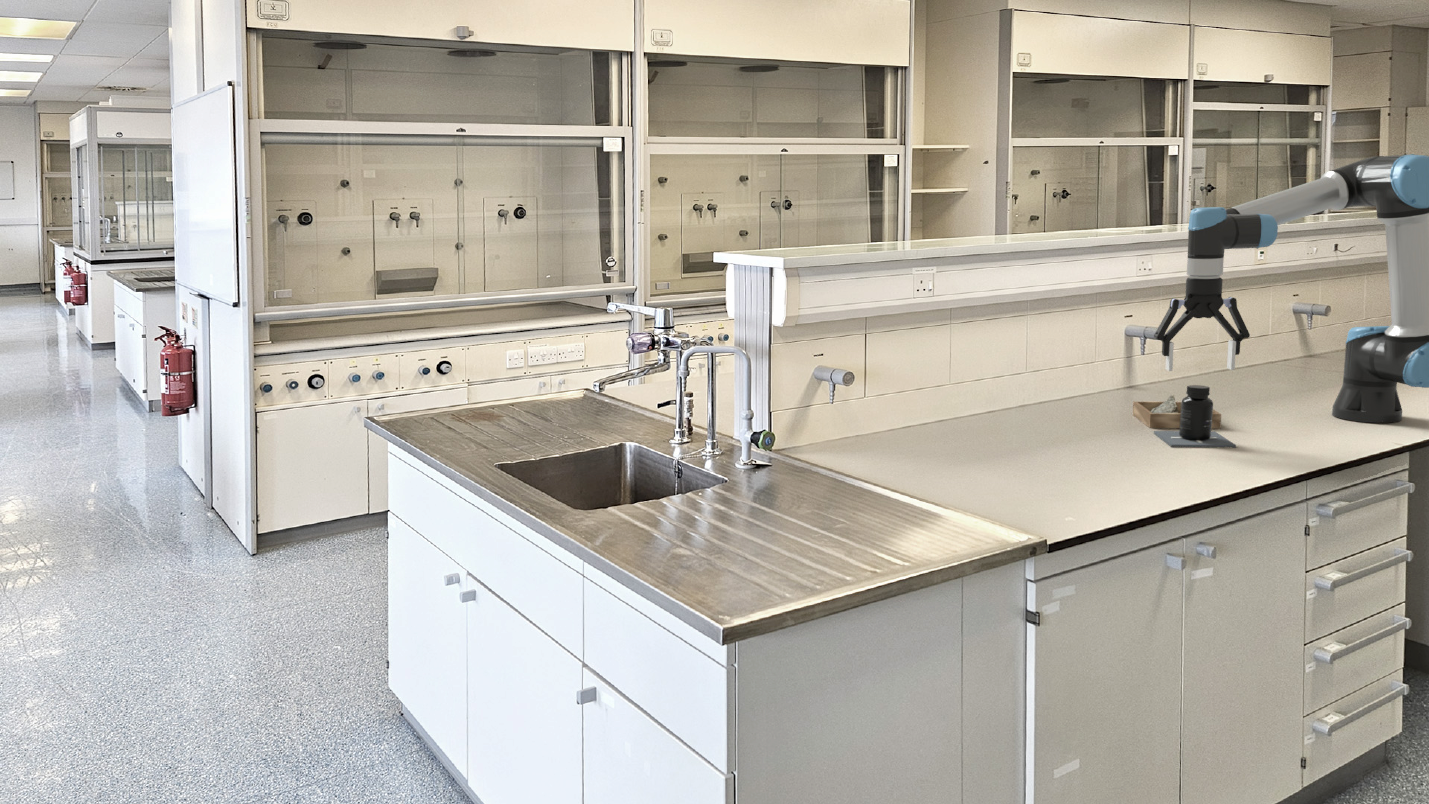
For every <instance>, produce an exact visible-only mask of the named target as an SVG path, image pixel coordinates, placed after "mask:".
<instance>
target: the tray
mask: <svg viewBox="0 0 1429 804" xmlns="http://www.w3.org/2000/svg"><path fill="white" fill-rule="evenodd" d="M1164 402H1165V401H1133V403H1132V416H1133V417H1135V418H1136V419H1137V420H1139V421H1140V423H1142V424H1144V425H1145V426H1147V427H1148V428H1149V429H1179V427H1180V413H1181V401H1175V402H1176V404H1177V407H1178V412H1179V413H1152V412H1150V411H1151V410H1152V409H1153V408H1156V407H1158V406H1160V405H1161V404H1162V403H1164ZM1221 421H1222V414H1221V413H1220V412H1219V411H1216V409H1213V414H1212V428H1211V429H1221V427H1222V426H1221V423H1222V422H1221Z"/></svg>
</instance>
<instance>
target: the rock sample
mask: <svg viewBox="0 0 1429 804" xmlns="http://www.w3.org/2000/svg"><path fill="white" fill-rule="evenodd" d="M1163 402H1164V403H1162V404H1161V405H1160V406H1158V407H1156V408H1153V409H1152V410H1151V411H1150V412H1152V413H1179V412H1178V407H1177V404H1176V402H1177V401H1176V398H1175V395H1174V394H1171V395H1169V397H1167V399H1166V400H1165V401H1163Z"/></svg>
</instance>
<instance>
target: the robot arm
mask: <svg viewBox="0 0 1429 804" xmlns="http://www.w3.org/2000/svg"><path fill="white" fill-rule="evenodd" d="M1353 207H1375V208H1376V219H1377V220H1378V221H1380V222H1381V223H1382V224H1383V225H1384V227H1385V241H1386V255H1387V256H1386V258H1387V260H1386V261H1387V274H1388V286H1389V290H1388V291H1389V302H1390V303H1389V305H1390V317H1391V324H1390V325H1378V326H1377V325H1375V326H1354V327H1352V328H1350V329H1349V330H1348V332H1347V338H1346V341H1345V349H1344V350H1345V351H1344V353H1345V354H1344V365H1343V377H1342V384H1341V385H1342V386H1341V387H1340V389H1339V392H1338V394H1337V396H1336V398H1335V401H1334V402H1333V404H1332V411H1331V414H1332V416H1334V417H1335V418H1338V419H1342V420H1346V421H1347V420H1348V421H1352V422H1353V421H1354V422H1361V423H1375V424H1376V423H1378V424H1380V423H1381V424H1382V423H1383V424H1384V423H1385V424H1386V423H1396V422H1400V421H1402V419H1403V408H1402V404H1401V401H1400V396H1399V394H1398V389H1397V387H1398V385H1397V384H1398V383H1399V384H1402V385H1406V386H1407V385H1408V386H1409V387H1411V388H1412V387H1413V388H1424V389H1427V388H1429V156H1428V155H1422V154H1421V155H1420V154H1413V153H1410V154H1409V153H1408V154H1397V155H1396V154H1395V155H1379V156H1376V155H1375V156H1370V157H1368V158H1364V159H1360V160H1357V161H1355V162H1351V163H1349V164H1346V165H1344V166H1341V167H1338V168H1335V169H1332V170H1329V171H1326V172H1324V173H1323V174H1322V175H1321V177H1320V178H1317V179H1314V180H1312V181H1309V182H1306V183H1302V184H1300V185H1297V186H1293V187H1290V188H1287V189H1284V190H1280V191H1278V192H1275V193H1272V194H1269V195H1266V196H1264V197H1260V198H1257V199H1253V200H1250V201H1247V202H1244V203H1241V204H1238V205H1234V206H1232V207H1229V208H1225V207H1221V206H1220V207H1219V206H1214V207H1213V206H1212V207H1196V208H1192V209H1191V211H1190V212H1189V213H1190V214H1189V219H1188V220H1189V221H1188V227H1187V230H1188V234H1187V235H1188V237H1187V238H1188V239H1187V263H1186V275H1187V276H1188V277H1187V278H1186V280H1185V297H1184V299H1178V298H1173V297H1172V298H1171V299H1170V301H1169V306H1168V310H1167V311H1166V312H1165V315H1164V316H1163V318H1162V320H1161V322H1160V324H1159V325H1158V327H1157V328H1156V331H1155V333H1154V334H1153V337H1154V338H1155V339H1156V340H1158V341H1161V342H1162V344H1161V354H1162V356H1163V357H1165V370H1167V372H1173V367H1174V347H1175V346H1174V344H1175V343H1174V341H1173V342H1172V340H1173V338H1174V337H1175V336H1176V335H1177V334H1178V333H1179V332H1180V331H1181V330H1182V329H1183V328H1184V327H1185V326H1186V325H1187V324H1188V323H1189V321H1191V320H1192V319H1193V318H1194V319H1203V318H1206V319H1212V318H1214V319H1215V320H1216V321H1217V322H1218V324H1219V325H1220V326H1221V327H1222V328H1223V329H1224V330H1225V331H1226V333H1227V334H1228V336H1230V337H1231V339H1228V342H1227V360H1226V361H1227V362H1226V369H1228V370H1231V371H1235V368H1236V356H1237V355H1238V356H1239V355H1240V353H1241V342H1242V341H1243V340H1244V339H1250V337H1251V335H1250V332H1249V330H1248V327H1247V326H1246V323H1245V321H1244V320H1243V317H1242V316H1241V313H1240V311H1239V308H1238V301H1237V298H1236V297H1232V296H1229V297H1228V298H1223V278H1222V277H1221V276H1222V275H1224V259H1225V250H1230V249H1232V250H1234V249H1235V250H1236V249H1241V250H1242V249H1257V250H1258V249H1259V248H1268V247H1271V246H1272V245H1273V244H1274V242H1276V240H1277V237H1278V234H1279V233H1278V229H1279V226H1280V225H1283V224H1286V223H1291V222H1293V221H1295V220H1299V219H1303V218H1305V217H1309V216H1312V215H1315V214H1317V213H1321V212H1324V211H1327V210H1333V211H1341V210H1344V209H1347V208H1353ZM1223 305H1224V306H1225V308H1227V309H1228V312H1229V313H1230V316H1231V317H1232V320H1233V322H1234V324H1235V326H1236V329H1237V330H1238V332H1239V333H1238V332H1237V331H1236V329H1235V328H1234V327H1233V326H1232V325H1231V323H1230V322H1229V320H1227V319H1226V318H1225V316H1224V314H1223V313H1222V312H1221V311H1220V309H1221V308H1222V307H1223ZM1182 306H1184V308H1185V310H1184V312H1183V313H1182V314H1181V316H1180V317H1179V319H1178V320H1176V322H1175V323H1174V324H1173V325H1172V326H1171V327H1170V325H1171V324H1172V321H1174V318H1175V316H1176V314H1177V313H1178V310H1180V309H1181V307H1182ZM1169 327H1170V328H1169ZM1168 328H1169V329H1168ZM1154 338H1153V339H1154Z"/></svg>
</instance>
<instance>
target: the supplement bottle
mask: <svg viewBox="0 0 1429 804" xmlns="http://www.w3.org/2000/svg"><path fill="white" fill-rule="evenodd" d="M1210 391H1211V390H1210V386H1207V385H1201V384H1200V385H1199V384H1197V385H1196V384H1190V385H1187V386H1186V392H1185V394H1186V396H1185V397H1183V398H1182V400H1181V401H1180V402H1181V413H1180V427H1179V428H1178V429H1179V430H1178V431H1179V435H1180V437H1182V438H1185V439H1191V440H1207V439H1209V438H1210V437H1211V431H1212V429H1213V428H1212V414H1213V410H1214V402H1213V400H1212V398H1209V396H1210V395H1211V392H1210Z"/></svg>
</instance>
